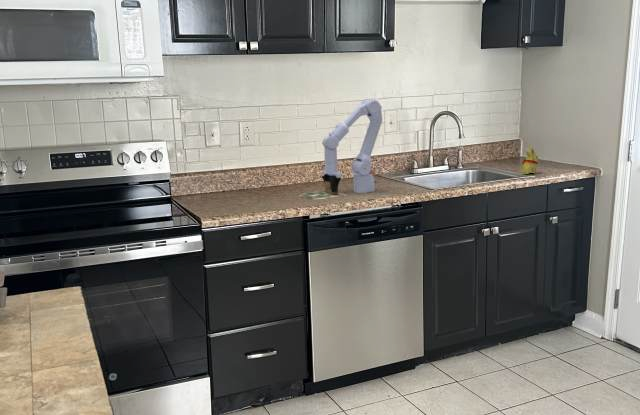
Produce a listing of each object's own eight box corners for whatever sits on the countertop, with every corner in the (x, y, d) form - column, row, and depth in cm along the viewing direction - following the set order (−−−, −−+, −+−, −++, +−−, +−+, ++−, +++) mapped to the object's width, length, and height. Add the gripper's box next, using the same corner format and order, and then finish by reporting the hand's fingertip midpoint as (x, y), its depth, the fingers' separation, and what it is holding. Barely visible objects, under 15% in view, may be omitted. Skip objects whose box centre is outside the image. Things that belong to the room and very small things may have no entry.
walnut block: (333, 192, 298) (333, 180, 297) (338, 194, 295) (338, 181, 293) (325, 194, 296) (324, 181, 295) (330, 195, 292) (329, 182, 291)
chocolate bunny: (540, 173, 342) (541, 145, 339) (527, 175, 336) (528, 147, 333) (530, 172, 347) (531, 144, 344) (516, 174, 342) (517, 146, 339)
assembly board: (332, 193, 304) (332, 188, 303) (348, 197, 292) (347, 192, 291) (299, 197, 295) (298, 192, 295) (313, 202, 283) (313, 197, 283)
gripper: (315, 161, 297) (316, 189, 299) (331, 164, 284) (332, 194, 287) (328, 159, 300) (329, 188, 303) (344, 163, 288) (345, 192, 290)
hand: (331, 191), depth 295 cm, fingers closed on walnut block, 4 cm apart
